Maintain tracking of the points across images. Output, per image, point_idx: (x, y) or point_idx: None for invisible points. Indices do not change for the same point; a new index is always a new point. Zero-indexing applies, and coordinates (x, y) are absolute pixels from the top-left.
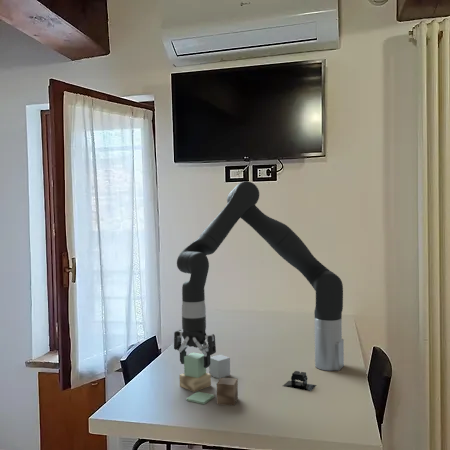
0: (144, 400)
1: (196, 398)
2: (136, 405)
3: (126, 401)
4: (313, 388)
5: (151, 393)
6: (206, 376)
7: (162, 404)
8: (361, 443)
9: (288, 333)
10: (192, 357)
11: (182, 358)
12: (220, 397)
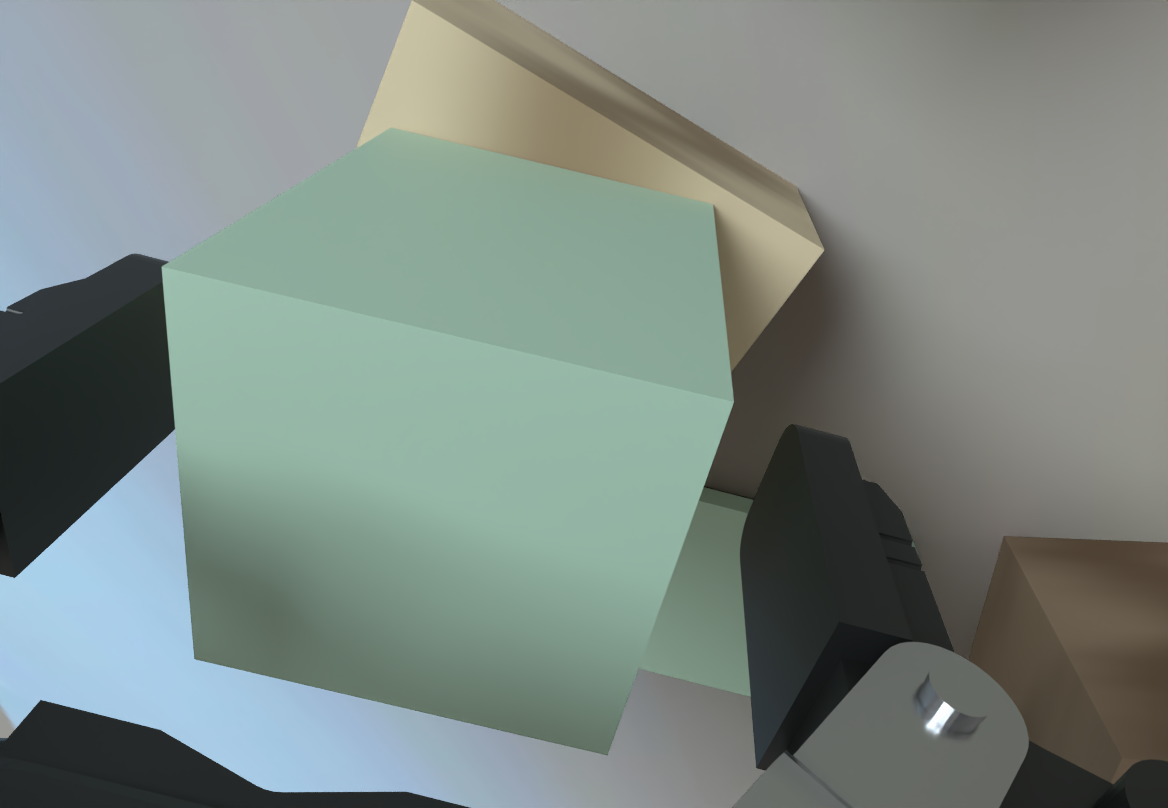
0: (229, 672)
1: (719, 653)
2: (237, 748)
3: (105, 698)
4: None
5: (176, 538)
6: (753, 335)
7: (429, 721)
8: None
9: None
10: (426, 679)
11: (116, 478)
12: None
